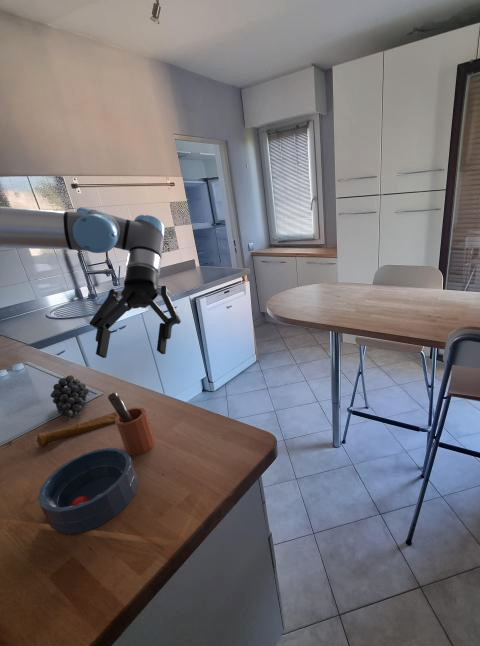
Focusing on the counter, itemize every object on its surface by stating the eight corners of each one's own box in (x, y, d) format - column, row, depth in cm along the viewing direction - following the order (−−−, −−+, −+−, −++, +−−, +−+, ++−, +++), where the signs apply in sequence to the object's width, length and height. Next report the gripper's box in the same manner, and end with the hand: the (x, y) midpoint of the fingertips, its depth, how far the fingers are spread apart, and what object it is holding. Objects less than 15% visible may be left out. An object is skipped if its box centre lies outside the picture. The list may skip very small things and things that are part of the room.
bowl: (30, 531, 58) (16, 506, 55) (91, 467, 71) (82, 445, 69) (103, 541, 55) (92, 515, 53) (153, 473, 68) (146, 450, 66)
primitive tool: (126, 410, 90) (122, 399, 88) (130, 420, 86) (127, 408, 84) (40, 443, 80) (34, 431, 78) (40, 456, 75) (34, 444, 74)
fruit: (68, 392, 83) (74, 366, 95) (35, 411, 81) (45, 382, 93) (91, 415, 87) (94, 388, 100) (60, 433, 85) (67, 403, 98)
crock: (120, 456, 73) (108, 423, 70) (137, 438, 79) (126, 406, 75) (144, 458, 72) (133, 425, 69) (160, 439, 78) (150, 407, 74)
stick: (136, 446, 76) (105, 397, 65) (139, 439, 77) (109, 391, 67) (144, 446, 75) (114, 397, 65) (147, 439, 77) (117, 390, 67)
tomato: (66, 502, 60) (65, 510, 57) (83, 489, 61) (83, 497, 58) (78, 513, 61) (77, 521, 58) (94, 500, 62) (94, 508, 59)
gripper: (197, 277, 85) (192, 355, 77) (102, 283, 86) (86, 362, 78) (187, 260, 78) (179, 344, 71) (83, 267, 79) (64, 352, 71)
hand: (130, 354), depth 74 cm, fingers open, 13 cm apart
